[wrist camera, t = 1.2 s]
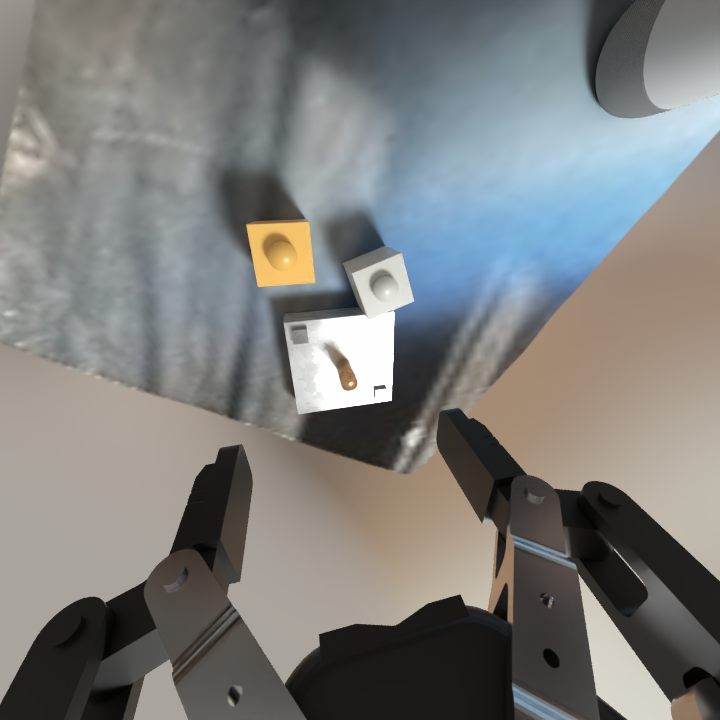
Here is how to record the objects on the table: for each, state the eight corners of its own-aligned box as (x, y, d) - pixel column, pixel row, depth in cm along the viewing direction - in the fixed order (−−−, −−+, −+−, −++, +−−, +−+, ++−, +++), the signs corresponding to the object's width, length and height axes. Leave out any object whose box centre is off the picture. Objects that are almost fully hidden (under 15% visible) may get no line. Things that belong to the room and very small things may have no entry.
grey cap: (342, 263, 32) (353, 275, 26) (384, 245, 32) (404, 254, 26) (357, 304, 34) (370, 323, 29) (396, 287, 34) (417, 303, 29)
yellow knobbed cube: (253, 221, 28) (244, 225, 23) (305, 219, 29) (309, 222, 24) (263, 273, 31) (257, 289, 25) (311, 270, 31) (315, 284, 26)
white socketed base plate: (284, 313, 33) (282, 338, 27) (386, 304, 35) (406, 325, 29) (297, 400, 39) (299, 436, 33) (384, 387, 41) (401, 419, 35)
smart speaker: (642, -38, 25) (964, -258, 13) (685, 45, 29) (968, -67, 17) (564, 84, 28) (769, -5, 16) (612, 145, 32) (808, 110, 20)
